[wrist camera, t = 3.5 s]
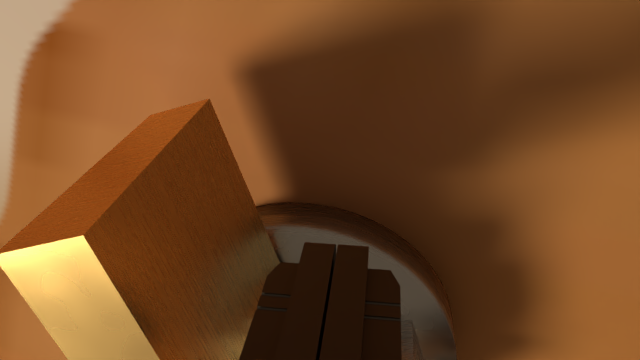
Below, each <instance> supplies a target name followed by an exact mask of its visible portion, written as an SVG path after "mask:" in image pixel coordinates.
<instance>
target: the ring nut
mask: <svg viewBox="0 0 640 360" xmlns="http://www.w3.org/2000/svg"><path fill="white" fill-rule="evenodd" d="M279 263H280V262H279V260H278V257H277V255H276V253H275V250H274V248H273V246H272V243H271V241H270V239H269V236H268V234H267V232H266V229H265V227H264V225H263V222H262V220H261V218H260V215H259V213H258V211H257V208H256V206H255V204H254V201H253V199H252V197H251V194H250V192H249V190H248V187H247V185H246V183H245V180H244V178H243V176H242V173H241V171H240V169H239V166H238V164H237V162H236V159H235V157H234V155H233V152H232V150H231V148H230V145H229V143H228V141H227V138H226V136H225V134H224V131H223V129H222V127H221V124H220V122H219V120H218V117H217V115H216V113H215V110H214V108H213V106H212V103H211V101H210V99H206V100H203V101H199V102H196V103H192V104H188V105H185V106H181V107H178V108H174V109H171V110H167V111H164V112H160V113H156V114H153V115H150V116H149V117H148V118H147V119H146V120H144V121H143V122H142V123H141V124H140V125H139V126H138V127H137V128H135V129H134V130H133V131H132V132H131V133H130V134H129V135H128V136H126V137H125V138H124V139H123V140H122V141H121V142H120V143H119V144H117V145H116V146H115V147H114V148H113V149H112V150H111V151H110V152H108V153H107V154H106V155H105V156H104V157H103V158H102V159H101V160H99V161H98V162H97V163H96V164H95V165H94V166H93V167H92V168H90V169H89V170H88V171H87V172H86V173H85V174H84V175H83V176H81V177H80V178H79V179H78V180H77V181H76V182H75V183H74V184H72V185H71V186H70V187H69V188H68V189H67V190H66V191H65V192H63V193H62V194H61V195H60V196H59V197H58V198H57V199H56V200H54V201H53V202H52V203H51V204H50V205H49V206H48V207H47V208H45V209H44V210H43V211H42V212H41V213H40V214H39V215H38V216H36V217H35V218H34V219H33V220H32V221H31V222H30V223H29V224H27V225H26V226H25V227H24V228H23V229H22V230H21V231H20V232H18V233H17V234H16V235H15V236H14V237H13V238H12V239H11V240H9V241H8V242H7V243H6V244H5V245H4V246H3V247H2V248H0V266H1V267H2V269H3V270H4V271H5V273H6V274H7V276H8V277H9V278H10V280H11V281H12V283H13V284H14V285H15V287H16V288H17V289H18V291H19V292H20V294H21V295H22V296H23V298H24V299H25V301H26V302H27V303H28V305H29V306H30V307H31V309H32V310H33V312H34V313H35V314H36V316H37V317H38V319H39V320H40V321H41V323H42V324H43V325H44V327H45V328H46V330H47V331H48V332H49V334H50V335H51V336H52V338H53V339H54V341H55V342H56V343H57V345H58V346H59V348H60V349H61V350H62V352H63V353H64V354H65V356H66V357H67V359H68V360H239V358H240V355H241V352H242V349H243V346H244V343H245V340H246V337H247V334H248V331H249V328H250V325H251V322H252V319H253V316H254V313H255V310H257V304H258V301H259V298H260V296H261V294H262V289H263V287H264V284H265V281H266V278H267V275H268V274H269V273H270V272H271V271H272V270H273V269H274V268H275V267H276V266H277V265H278V264H279ZM295 263H296V262H295ZM401 353H402V360H424V357H423V354H422V350H421V347H420V344H419V341H418V337H417V334H416V331H415V328H414V324H413V321H412V319H411V320H404V321H401Z"/></svg>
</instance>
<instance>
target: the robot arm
mask: <svg viewBox="0 0 640 360" xmlns="http://www.w3.org/2000/svg"><path fill="white" fill-rule="evenodd" d="M368 257H369V246H355V245H341V244H338V247H337V253H336V244H325V243H311V242H305V243H304V246H303V250H302V253H301V257H300V261H299V263H286V262H280V263H279V264H278V265H277V266H276V267H275V268H274V269H273V270H272V271H271V272H270V273H269V274H268V275H267V278H266V281H265V284H264V287H263V289H262V294H261V296H260V298H259V301H258V304H257V310H255V313H254V316H253V319H252V322H251V325H250V328H249V331H248V334H247V337H246V340H245V343H244V346H243V349H242V352H241V355H240V358H239V360H402V353H401V307H400V306H401V296H400V285H399V283H398V281H397V280H396V278H395V276H394V275H393V273H392V271H391V270H382V269H368Z"/></svg>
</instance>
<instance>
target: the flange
mask: <svg viewBox="0 0 640 360" xmlns="http://www.w3.org/2000/svg"><path fill="white" fill-rule="evenodd" d="M256 208H257V211H258V213H259V215H260V218H261V220H262V222H263V225H264V227H265V229H266V232H267V234H268V236H269V239H270V241H271V243H272V246H273V248H274V250H275V253H276V255H277V257H278V260H279V262H286V263H295V262H296V263H299V261H300V257H301V253H302V250H303V246H304V243H305V242H311V243H325V244H336V253H337V247H338V244H341V245H355V246H369V257H368V269H382V270H391V271H392V273H393V275H394V276H395V278H396V280H397V281H398V283H399V285H400V296H401V306H400V307H401V321H404V320H411V319H412V321H413V324H414V328H415V331H416V334H417V337H418V341H419V344H420V347H421V350H422V354H423V357H424V360H457V355H456V345H455V338H454V330H453V323H452V315H451V310H450V306H449V301H448V297H447V295H446V292H445V290H444V288H443V285H442V283H441V281H440V280H439V278H438V276H437V275H436V273H435V271H434V270H433V268H432V267H431V266H430V265H429V263H428V262H427V261H426V260H425V259H424V258H423V256H422V255H421V254H420V253H419V252H418V251H417V250H415V249H414V248H413V247H412V246H411V245H410V244H409V243H408V242H407V241H405V240H404V239H402V238H401V237H400V236H398V235H397V234H395V233H394V232H392V231H391V230H389V229H387V228H385V227H384V226H382V225H380V224H378V223H376V222H374V221H372V220H370V219H367V218H365V217H362V216H360V215H357V214H355V213H352V212H348V211H345V210H341V209H337V208H334V207H328V206H322V205H315V204H303V203H283V204H270V205H265V206H260V207H256Z"/></svg>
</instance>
